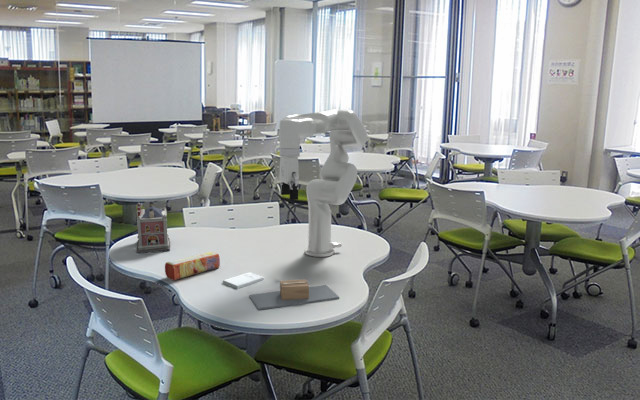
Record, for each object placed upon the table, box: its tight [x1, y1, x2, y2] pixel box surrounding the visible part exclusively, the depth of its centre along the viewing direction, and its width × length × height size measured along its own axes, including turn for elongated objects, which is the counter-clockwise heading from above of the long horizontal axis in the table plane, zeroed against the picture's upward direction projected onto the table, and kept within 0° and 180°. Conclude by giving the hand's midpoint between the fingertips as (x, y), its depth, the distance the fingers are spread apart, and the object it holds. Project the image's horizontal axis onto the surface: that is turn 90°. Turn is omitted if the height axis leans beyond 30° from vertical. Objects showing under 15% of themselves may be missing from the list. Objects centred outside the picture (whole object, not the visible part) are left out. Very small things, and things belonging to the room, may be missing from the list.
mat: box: [249, 284, 340, 311], centre depth 187 cm, size 28×12×1 cm, turn 111°
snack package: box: [164, 251, 221, 281], centre depth 209 cm, size 21×7×7 cm, turn 137°
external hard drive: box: [222, 272, 265, 290], centre depth 201 cm, size 2×8×12 cm
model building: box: [135, 201, 171, 254], centre depth 240 cm, size 19×14×20 cm
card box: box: [279, 279, 310, 300], centre depth 186 cm, size 6×9×5 cm, turn 100°
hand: (289, 197), depth 210 cm, fingers open, 9 cm apart
